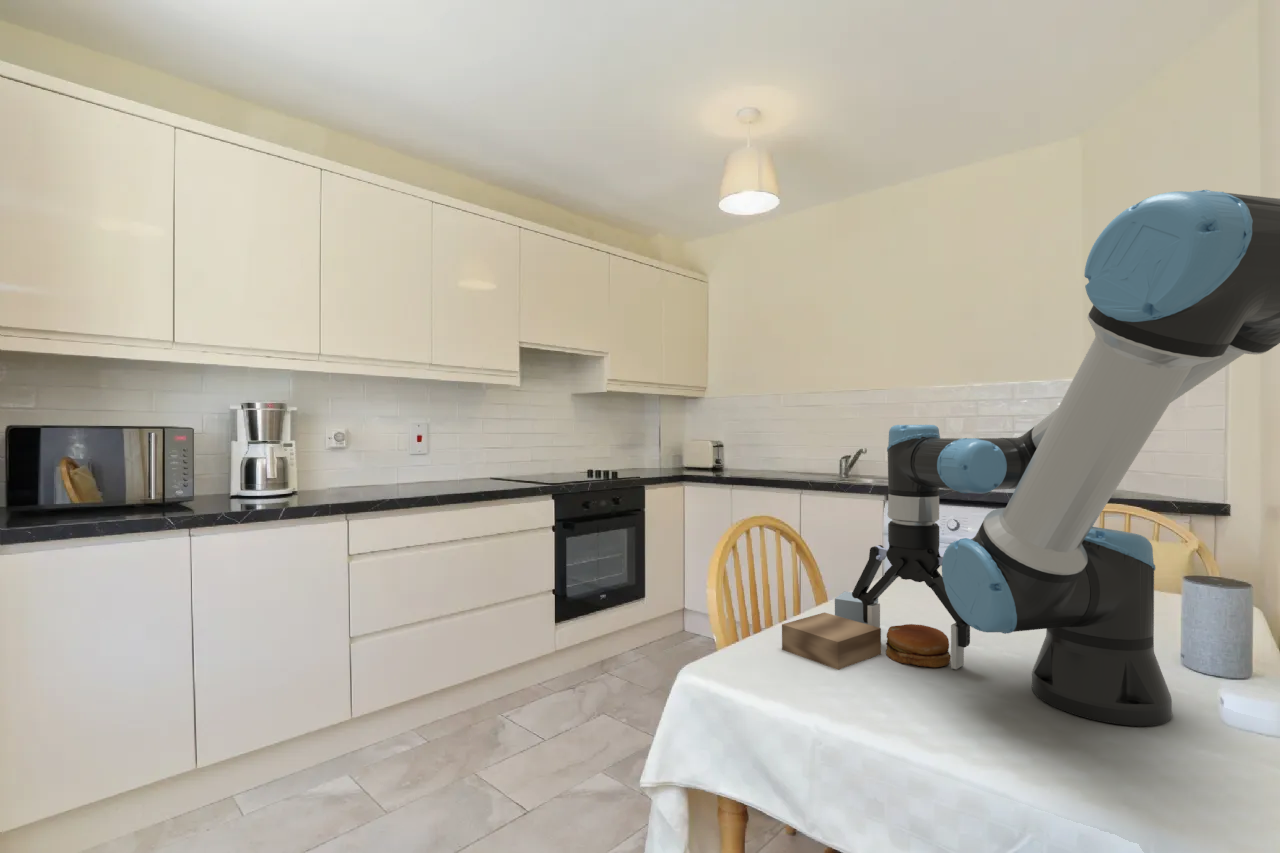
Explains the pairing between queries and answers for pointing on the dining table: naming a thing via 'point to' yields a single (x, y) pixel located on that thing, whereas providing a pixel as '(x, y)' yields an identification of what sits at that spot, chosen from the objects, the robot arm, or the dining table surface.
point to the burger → (918, 645)
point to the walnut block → (831, 640)
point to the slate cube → (849, 607)
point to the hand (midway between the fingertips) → (913, 654)
